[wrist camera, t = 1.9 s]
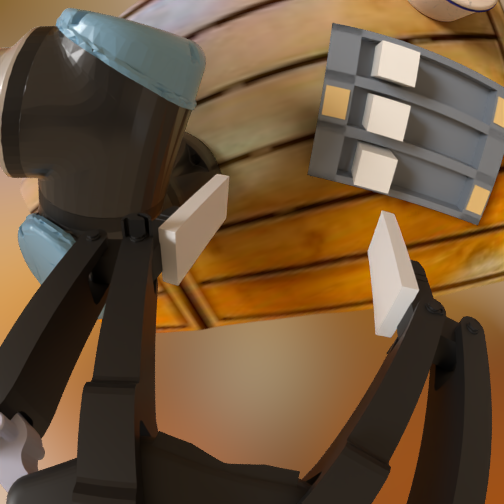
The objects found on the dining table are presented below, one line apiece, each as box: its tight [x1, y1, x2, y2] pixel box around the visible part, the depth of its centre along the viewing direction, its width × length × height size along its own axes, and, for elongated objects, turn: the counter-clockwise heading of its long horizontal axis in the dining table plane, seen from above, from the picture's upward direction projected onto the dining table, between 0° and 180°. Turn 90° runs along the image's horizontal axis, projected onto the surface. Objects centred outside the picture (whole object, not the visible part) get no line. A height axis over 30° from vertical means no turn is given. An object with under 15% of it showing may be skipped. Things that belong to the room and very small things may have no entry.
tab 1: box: [371, 40, 420, 87], centre depth 21 cm, size 4×4×5 cm
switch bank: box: [308, 23, 504, 225], centre depth 26 cm, size 22×17×4 cm
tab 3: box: [351, 140, 398, 194], centre depth 28 cm, size 4×4×5 cm
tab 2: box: [362, 93, 411, 142], centre depth 25 cm, size 4×4×5 cm
